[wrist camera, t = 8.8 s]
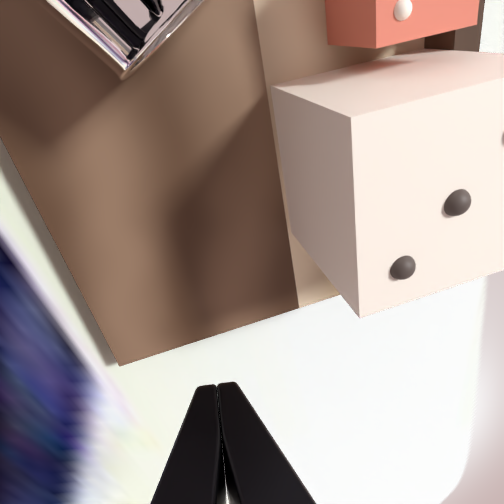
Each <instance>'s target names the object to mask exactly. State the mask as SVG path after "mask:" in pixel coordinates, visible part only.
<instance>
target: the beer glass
mask: <svg viewBox="0 0 504 504" xmlns="http://www.w3.org/2000/svg"><path fill="white" fill-rule="evenodd" d="M35 1H36V2H37V3H38V4H39V5H40V6H42V7H43V8H44V9H45V10H46V11H47V12H48V13H49V14H50V15H51V16H52V17H54V18H55V19H56V20H57V21H58V22H59V23H60V24H61V25H62V26H63V27H65V28H66V29H67V30H68V31H69V32H70V33H71V34H72V35H73V36H75V37H76V38H77V39H78V40H79V41H80V42H81V43H83V44H84V45H85V46H86V47H87V48H88V49H89V50H90V51H92V52H93V53H94V54H95V55H96V56H97V57H98V58H99V59H100V60H102V61H103V62H104V63H105V64H106V65H107V66H108V67H109V68H110V69H111V70H112V71H113V72H114V73H115V74H116V75H117V76H118V77H119V79H121V80H125V79H126V78H128V77H129V76H130V75H132V74H133V73H134V72H135V71H136V70H137V69H138V68H139V67H141V66H142V65H143V64H144V63H145V62H146V61H147V60H148V59H149V58H150V57H151V56H152V55H153V54H154V53H155V52H156V51H157V50H158V49H159V48H160V47H161V46H162V45H163V44H164V43H165V42H166V41H167V40H168V39H169V38H170V37H171V36H172V35H173V34H174V33H175V32H176V31H177V30H178V29H179V28H180V27H181V26H182V25H183V24H184V23H185V22H186V21H187V20H188V19H189V18H190V17H191V16H192V14H193V13H194V12H195V11H196V10H197V9H198V8H199V7H200V6H201V5H202V4H203V3H204V2H205V1H206V0H35Z"/></svg>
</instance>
